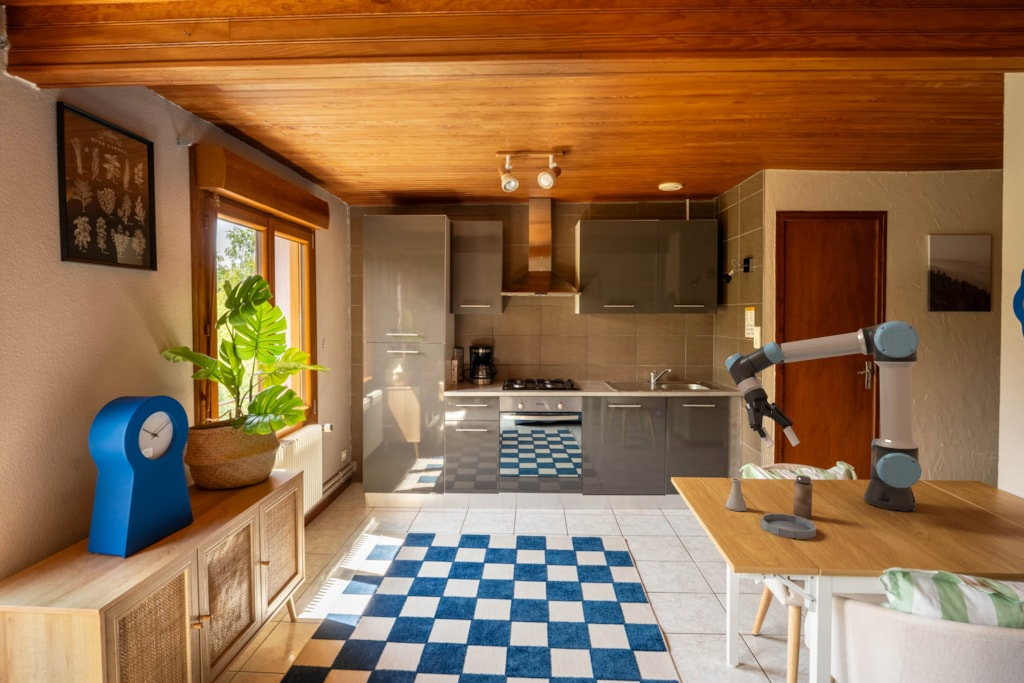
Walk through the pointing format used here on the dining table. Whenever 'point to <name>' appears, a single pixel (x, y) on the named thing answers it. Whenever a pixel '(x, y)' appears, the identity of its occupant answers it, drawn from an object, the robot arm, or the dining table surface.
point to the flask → (736, 497)
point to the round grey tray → (788, 526)
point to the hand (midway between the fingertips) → (783, 445)
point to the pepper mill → (803, 497)
